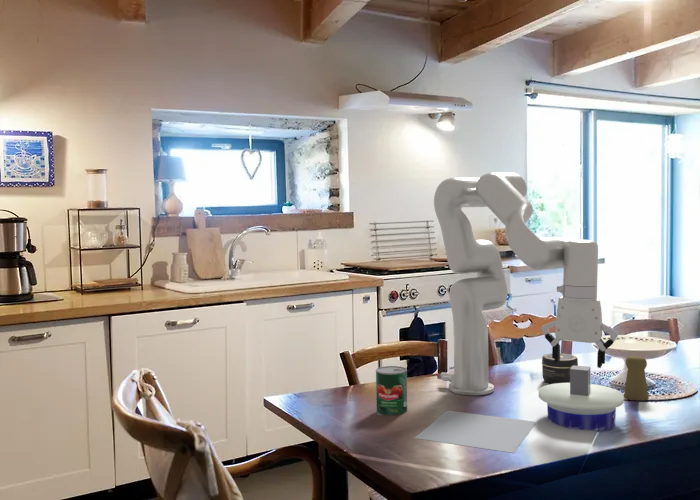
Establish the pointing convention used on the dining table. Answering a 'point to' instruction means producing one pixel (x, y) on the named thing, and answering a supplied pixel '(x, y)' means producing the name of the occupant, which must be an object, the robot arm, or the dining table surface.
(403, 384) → the canned tomato
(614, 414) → the dog bowl
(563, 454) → the dining table surface
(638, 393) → the olive pawn
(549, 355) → the jar
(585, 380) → the lid
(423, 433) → the mat
